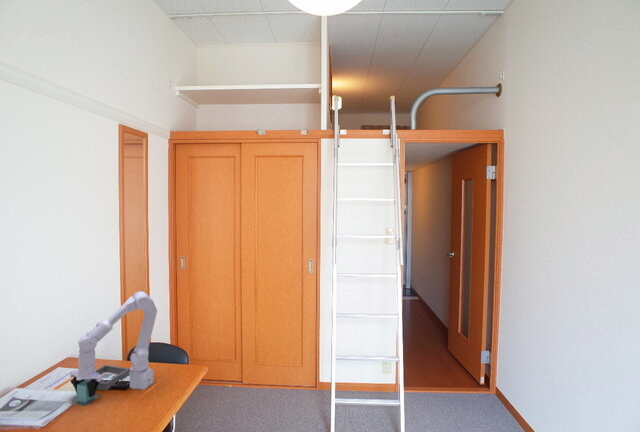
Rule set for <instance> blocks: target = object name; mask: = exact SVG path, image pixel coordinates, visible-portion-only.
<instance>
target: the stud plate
mask: <svg viewBox="0 0 640 432" xmlns="http://www.w3.org/2000/svg"><path fill="white" fill-rule="evenodd" d="M101 396H102V394H101V393H100V394H99V393H95V397H93V398H92V399H90V400H89V401H87V402H86V403H84V402H79V401H77V397H76V398H74V399H73V400H71V401H72V402H71V401H70V402H71V403H70V404H73V405H77V406H83V407H86V406H88V405H90V403H92V402H93V401H95V400H97V399H98V398H100V397H101Z"/></svg>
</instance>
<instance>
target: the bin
mask: <svg viewBox="0 0 640 432" xmlns="http://www.w3.org/2000/svg"><path fill="white" fill-rule="evenodd" d="M130 368H131V367H130ZM130 368H128V367H122V366H116V365H110V364H104V365H102V366H101V367H99V368H97V369H95V371H96V372H97V373H99V374H101V375H104V373H109V374H115V375H116V376H113V377H112V378H111V379H109V380H107V381H106V382H105V381H100V383H99V385H98V387H97V389H96V390H101V391H107V390H109V389H111V388H112V387H114V386H115V385H116V384H115V383H116V382H117V381H119V380H121V381H123V380H124V379H126V378H127V377H130V376H129V375H130ZM123 378H124V379H123ZM85 380H86V379H85ZM85 380H84V381H85ZM88 380H91V379H88ZM119 382H120V381H119ZM114 384H115V385H114ZM113 385H114V386H113ZM111 386H112V387H111Z"/></svg>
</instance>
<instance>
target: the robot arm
mask: <svg viewBox="0 0 640 432" xmlns="http://www.w3.org/2000/svg"><path fill="white" fill-rule="evenodd" d="M137 309H138V310H140V311H142V312H143V313H144V315H143V320H142V322H141V323H142V324H141V327H140V331H139V335H138V339H137V344H136V346H135V348H134V349H133V352H132V353H131V355H130V357H129V359H130V360H129V361H130V362H131V366H130V376H129V388H131V389H133V390H137V389H138V390H144V391H145V390H146V389H147V388H149V387H150V386H151V385H152V384H153V383H154V369H152V368H150V366H149V363H150V362H149V347H150V342H151V338H152V335H153V331H154V326H155V322H156V321H155V320H156V318H157V314H158V309H157V307H156V305H155V303H154V300H153V299H152V297H151V295H149V294H148V293H147V292H145V291H142V290H139V291H136V292H135V293H134V294H133V295H132V296H129V298H128V299H127V300H126V301H125V302H124V303H123V304H122V305H120V307H119V308H117V310H116V311H114V313H112V314H111V316H109V318H108V319H104V320H101V321H97V323H95V326H94V327H93V328H92V329H91V330H90V331H87V332H86V333H85V334H84V335H82V336H81V337H80V338H79V340H78V342H77V343H78V346H79V347H78V348H79V350H78V353H79V354H78V364H77V365H78V369H77V370H75V369H74V370H73V371H71V372H70V373H69V377H70V378H72V379H70V383H71V384H72V386H73V387H74V391H75V392H76V395H77V385H78V384H79V383H81V382H83V381H84V380H85V379H91V381H89V382H88V383H86V384H87V386H88V389H89V397H92V396H94V395H95V394H96V393H97V390H98V389H97V387H98V385H99V383H100V382H102V381H103V380H104V374H99V373H97V372H96V371H95V370H96V347H97V344H98V343H99V342H100V341H102V339H104V337H106V336H107V335H108V334H109V333H110V332H111V331H112V330H113V326H114V325H115V324H116V323H117V322H118V321H119V320H120V319H122V318H123V317H124V316H125V315H127V314H128V313H129V312H136V311H137Z"/></svg>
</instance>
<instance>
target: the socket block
mask: <svg viewBox="0 0 640 432" xmlns="http://www.w3.org/2000/svg"><path fill="white" fill-rule="evenodd" d="M89 381H91V380H88V379H86V380H85V381H83V382H81V383H79V384H78V385H77V394H76V398H77V401H79V402H84V403H86V402H87V401H89V400H90V399H92V398H93V397H95V395H94V396H92V397H89V389H88V386H87V384H86V383H88V382H89Z"/></svg>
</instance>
